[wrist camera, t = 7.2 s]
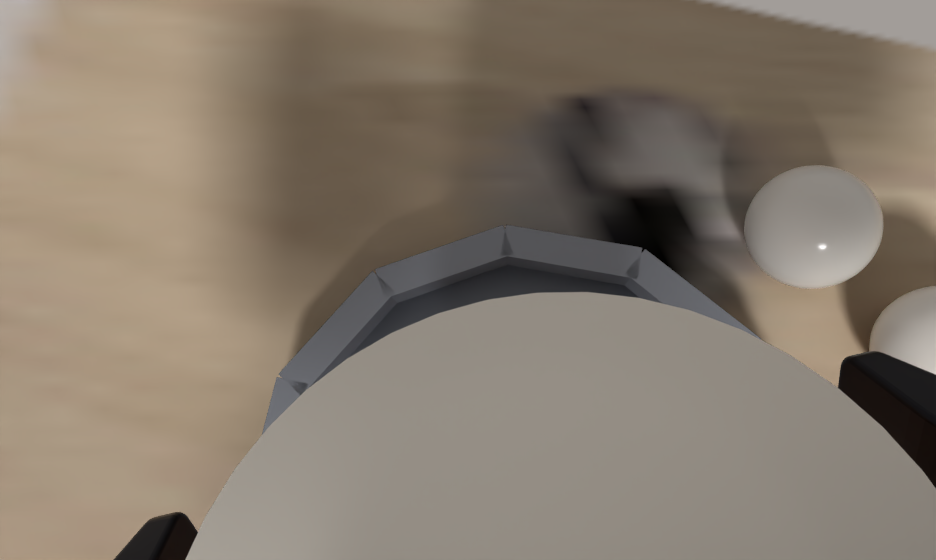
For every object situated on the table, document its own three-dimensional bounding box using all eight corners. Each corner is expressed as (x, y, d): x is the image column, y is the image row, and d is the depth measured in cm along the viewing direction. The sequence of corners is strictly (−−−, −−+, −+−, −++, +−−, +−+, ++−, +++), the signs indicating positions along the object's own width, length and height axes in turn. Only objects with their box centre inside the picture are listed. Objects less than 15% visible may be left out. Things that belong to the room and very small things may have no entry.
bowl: (902, 474, 16) (941, 479, 15) (562, 937, 14) (567, 993, 13) (498, 157, 18) (497, 134, 17) (169, 520, 17) (137, 529, 15)
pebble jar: (693, 493, 16) (1237, 696, 4) (542, 686, 15) (659, 1623, 3) (513, 341, 17) (524, 143, 5) (365, 513, 16) (-29, 756, 4)
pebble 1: (867, 237, 17) (939, 199, 14) (799, 322, 17) (860, 301, 14) (772, 169, 18) (823, 119, 15) (704, 250, 18) (744, 214, 15)
